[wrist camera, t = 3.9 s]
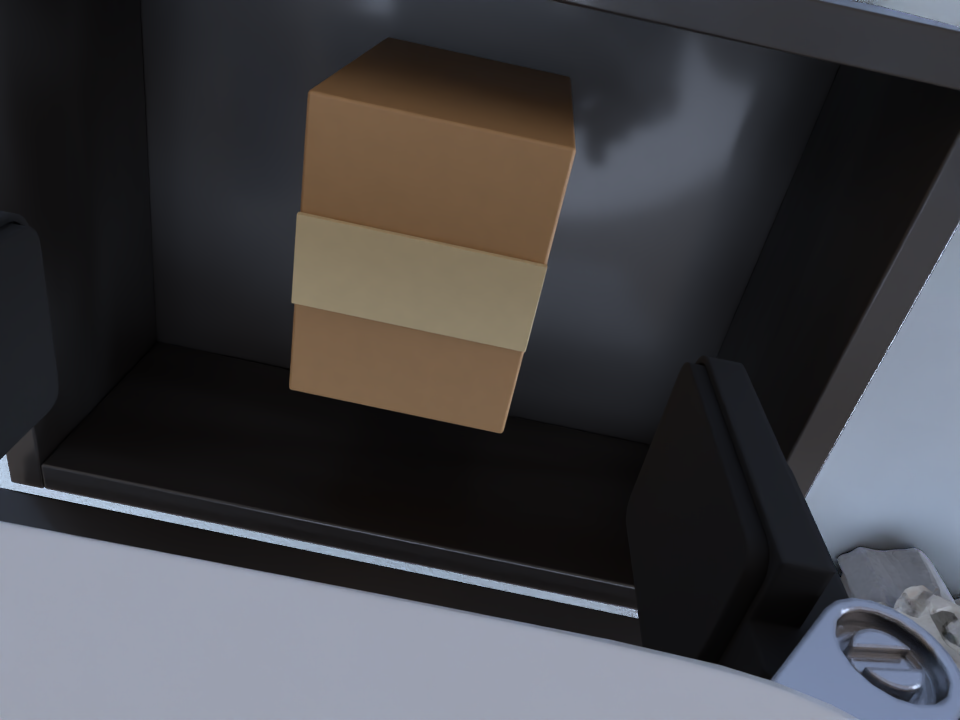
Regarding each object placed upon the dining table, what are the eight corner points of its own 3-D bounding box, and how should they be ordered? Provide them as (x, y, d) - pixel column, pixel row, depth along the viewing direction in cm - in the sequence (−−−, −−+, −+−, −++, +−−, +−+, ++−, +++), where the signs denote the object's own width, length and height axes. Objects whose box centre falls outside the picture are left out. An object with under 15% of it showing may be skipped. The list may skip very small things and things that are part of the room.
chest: (115, -165, 17) (-124, -211, 11) (886, 7, 17) (1058, 53, 11) (145, 344, 24) (10, 482, 18) (689, 458, 24) (731, 630, 18)
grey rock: (721, 608, 27) (744, 709, 24) (911, 509, 24) (970, 608, 21) (878, 747, 31) (918, 853, 27) (1064, 675, 27) (1138, 785, 24)
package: (386, 36, 18) (304, 91, 12) (571, 76, 18) (578, 151, 12) (360, 263, 21) (285, 393, 15) (517, 297, 21) (502, 439, 15)
